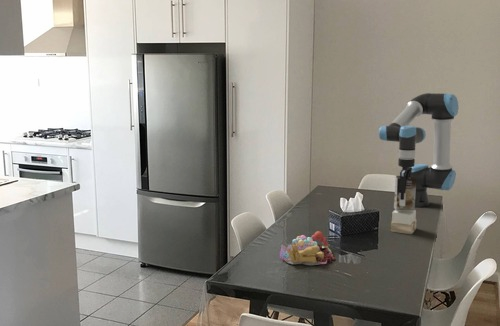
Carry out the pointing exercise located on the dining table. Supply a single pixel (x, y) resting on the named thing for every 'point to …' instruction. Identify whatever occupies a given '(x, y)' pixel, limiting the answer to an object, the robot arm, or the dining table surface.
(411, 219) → the tower top block
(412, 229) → the tower base block
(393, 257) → the dining table surface
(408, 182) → the coffee box
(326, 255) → the plate of sweets
